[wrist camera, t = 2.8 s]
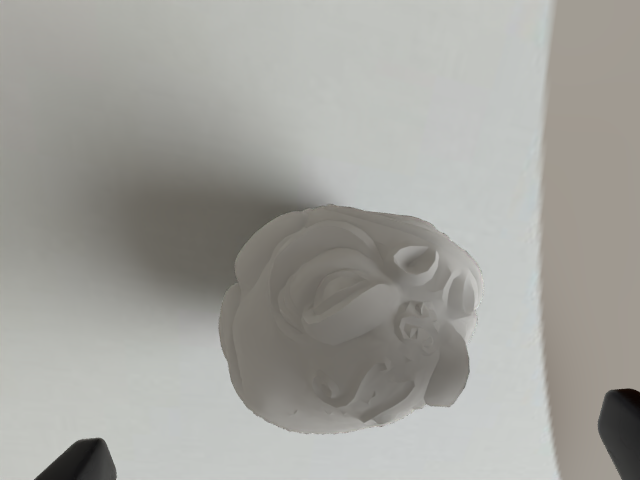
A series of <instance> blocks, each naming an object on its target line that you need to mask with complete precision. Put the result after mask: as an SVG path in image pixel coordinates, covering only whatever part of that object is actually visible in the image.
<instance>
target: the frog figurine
mask: <svg viewBox="0 0 640 480" xmlns="http://www.w3.org/2000/svg"><path fill="white" fill-rule="evenodd" d="M235 276H236V279H237V281H238V283H235V284H233V285H232V286H231V287H230V288H228V290H227V291H226V293H225V294H224V298H223V302H222V306H221V312H220V318H219V335H220V342H221V347H222V350H223V353H224V355H225V358H226V359H227V361H228V367H229V373H230V377H231V382H232V384H233V386H234V388H235V390H236V392H237V394H238V396H239V397H240V399H241V400H242V401H243V403H244V404H245V405H246V407H247V408H248V409H250V410H251V411H252V412H253V413H254V414H255V415H256V416H259V417H261V418H263V419H264V420H265V421H267V422H268V423H272V424H274V425H276V426H278V427H281V428H283V429H286V430H287V431H294V432H298V433H305V434H309V433H310V434H311V433H314V434H337V433H348V432H352V431H357V430H361V429H365V428H371V427H375V426H376V427H382V426H384V425H387V424H391V423H394V422H396V421H398V420H400V419H403V418H404V417H406V416H408V415H409V414H411V413H412V412H413V411H415V410H418V409H422V408H423V407H424V406H425V405H426V404H427V405H429V406H437V407H450V406H451V405H452V404H454V402H455V401H456V399H457V398H458V396H459V395H460V394H461V392H462V391H463V389H464V388H465V385H466V382H467V379H468V375H469V356H468V352H467V345H468V343H469V341H470V340H471V338H472V336H473V334H474V331H475V329H476V326H477V321H478V318H477V315H476V309H477V308H478V306H479V305H480V304H481V301H482V298H483V292H484V283H483V277H482V272H481V270H480V268H479V266H478V264H477V263H476V261H475V260H474V259H473V258H472V257H471V256H470V255H469V254H468V253H467V252H466V251H465V250H463V249H462V248H460V247H459V246H458V245H456V244H455V243H454V242H453V241H451V240H450V238H449V237H448V236H447V235H446V234H444V233H441V232H439V231H438V230H436V228H435V227H434V225H432V224H431V223H429V222H427V221H423V220H421V219H419V218H415V217H412V216H404V215H395V214H388V213H378V212H369V211H363V210H359V209H355V208H352V207H340V206H335V205H333V204H327V206H320V207H317V208H314V209H310V208H307V209H305V210H303V211H302V212H300V211H293V212H289V213H286V214H283V215H281V216H278V217H276V218H275V219H273V220H271V221H270V222H268V223H267V224H266V225H264V226H263V227H262V228H260V229H259V230H258V231H257V232H255V233H254V234H253V235H252V237H251V238H250V239H249V240H248V241H247V243H246V244H245V245H244V246H243V247H242V248H241V250H240V251H239V254H238V256H237V259H236V261H235Z"/></svg>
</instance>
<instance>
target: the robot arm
mask: <svg viewBox="0 0 640 480" xmlns="http://www.w3.org/2000/svg"><path fill="white" fill-rule="evenodd" d="M598 431H599V434H600V437H601V439H602V441H603V443H604V445H605V447H606V449H607V451H608V453H609V455H610V457H611V459H612V461H613V463H614V465H615V467H616V469H617V471H618V473H619V475H620V476H621V479H622V480H640V392H638V391H636V390H634V389H619V390H618V389H617V390H610V391H608V392H607V393H606V395H605V397H604V401H603V405H602V408H601V413H600V416H599V420H598ZM34 480H116V468H115V465H114V463H113V460H112V457H111V455H110V452H109V450H108V447H107V444H106V442H105V441H104V440H103V439H102V438H91V439H81V440H78V441H77V442H75V443H74V444H73V445H71V446H70V447H69V448H68V449H67V450H66V451H65V452H64V453H63V454H62V455H60V456H59V457H58V458H57V459H56V460H55V461H54V462H53V463H52V464H51V465H49V466H48V467H47V468H46V469H45V470H44V471H43V472H42V473H41V474H40V475H39V476H37V477H36V478H35V479H34Z"/></svg>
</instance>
